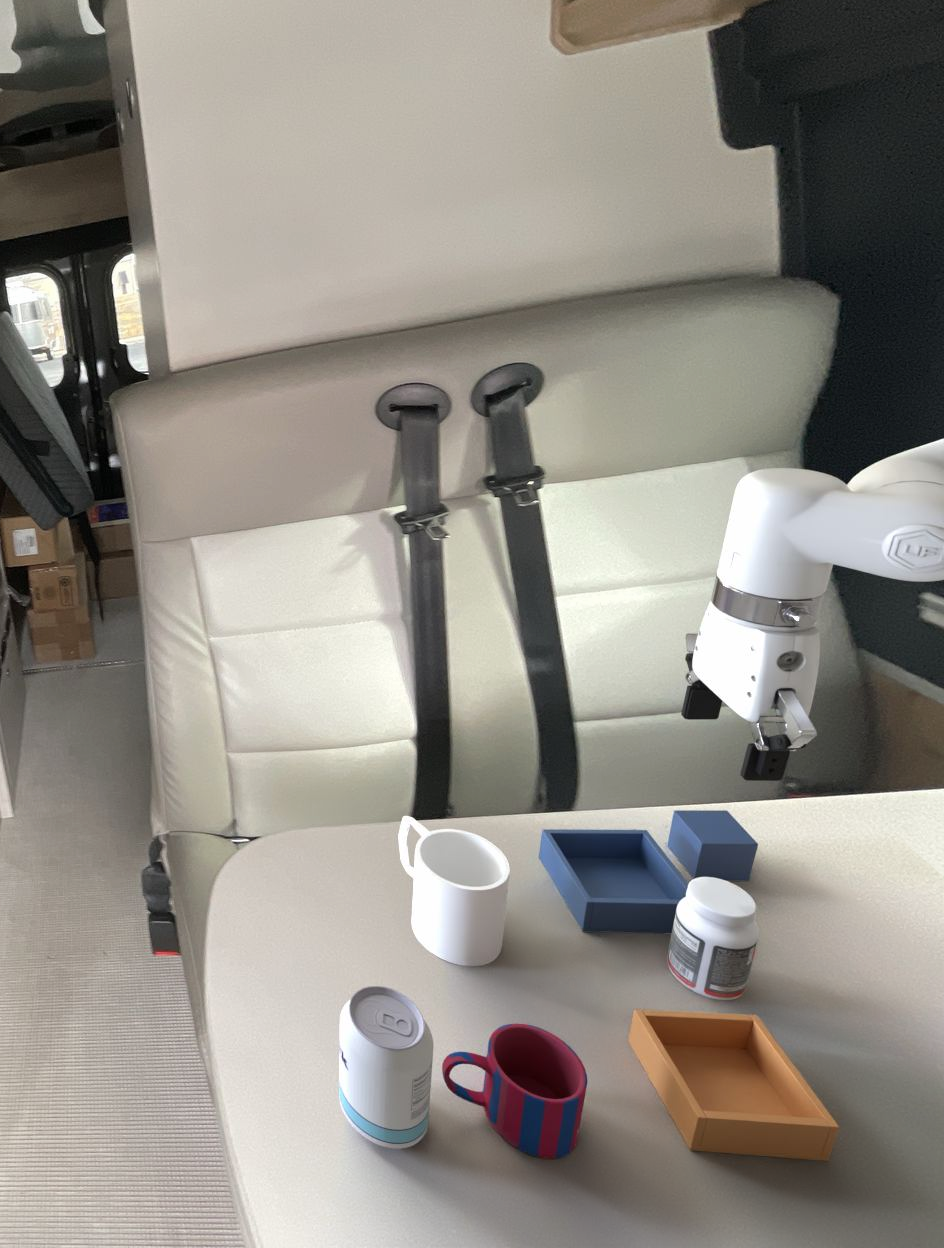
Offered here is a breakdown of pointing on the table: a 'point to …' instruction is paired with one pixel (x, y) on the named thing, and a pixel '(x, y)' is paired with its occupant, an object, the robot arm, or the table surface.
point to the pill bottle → (714, 939)
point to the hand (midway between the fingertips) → (728, 746)
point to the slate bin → (614, 879)
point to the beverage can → (385, 1067)
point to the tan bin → (731, 1085)
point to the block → (712, 844)
